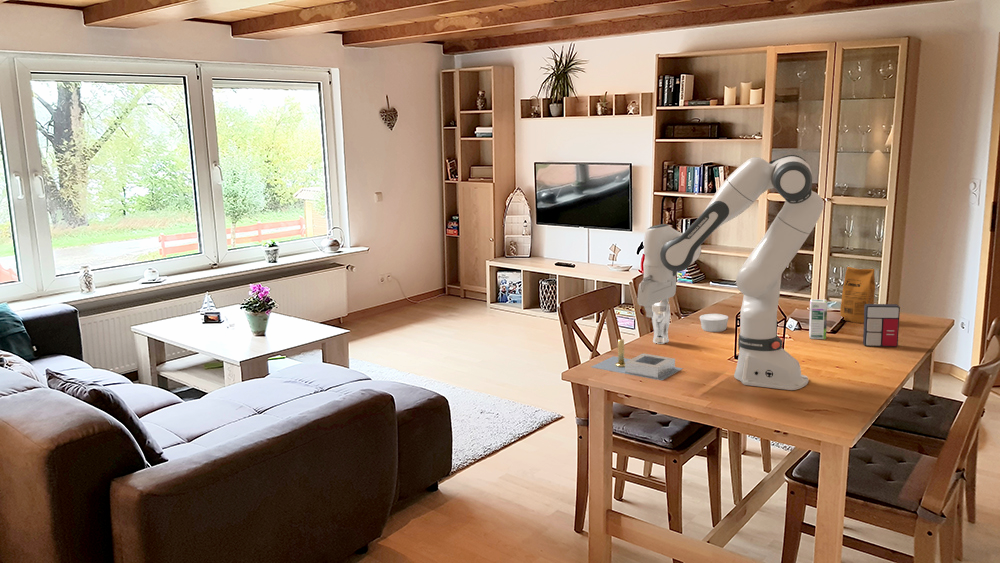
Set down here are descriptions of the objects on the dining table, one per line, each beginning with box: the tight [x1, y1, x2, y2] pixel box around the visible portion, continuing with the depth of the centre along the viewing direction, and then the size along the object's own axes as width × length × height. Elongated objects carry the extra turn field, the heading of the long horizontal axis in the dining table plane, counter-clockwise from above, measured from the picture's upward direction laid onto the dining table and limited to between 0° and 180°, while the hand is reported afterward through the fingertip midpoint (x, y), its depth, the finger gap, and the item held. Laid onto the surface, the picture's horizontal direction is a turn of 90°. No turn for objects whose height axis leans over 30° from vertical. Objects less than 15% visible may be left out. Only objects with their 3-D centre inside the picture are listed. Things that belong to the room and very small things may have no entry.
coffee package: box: [839, 266, 876, 324], centre depth 309 cm, size 10×12×22 cm
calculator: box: [862, 303, 901, 348], centre depth 273 cm, size 11×4×15 cm, turn 76°
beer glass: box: [651, 301, 671, 345], centre depth 290 cm, size 7×7×15 cm
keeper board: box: [590, 355, 684, 381], centre depth 256 cm, size 27×15×2 cm, turn 50°
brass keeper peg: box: [615, 338, 625, 367], centre depth 258 cm, size 4×4×9 cm
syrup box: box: [808, 298, 828, 340], centre depth 287 cm, size 6×6×14 cm
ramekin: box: [699, 313, 729, 333], centre depth 306 cm, size 11×11×5 cm
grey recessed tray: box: [625, 352, 676, 379], centre depth 252 cm, size 12×12×4 cm
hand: (656, 314), depth 253 cm, fingers open, 8 cm apart
